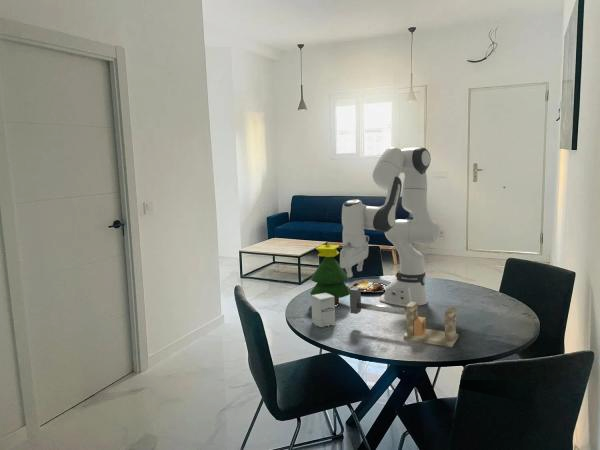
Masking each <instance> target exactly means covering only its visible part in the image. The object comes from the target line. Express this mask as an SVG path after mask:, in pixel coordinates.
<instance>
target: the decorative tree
mask: <svg viewBox="0 0 600 450" xmlns="http://www.w3.org/2000/svg"><path fill="white" fill-rule="evenodd" d="M339 247H340V244H330V243H327V244H320V245H319V246H317V247H316V248H315V250H317V252H319V253H318V254H317V255H316V257H323V259H322V261H321V262H320V264H319V265H318V267H317V268H316V269H315V271H314V272H313V274H312V276H311V277H310V281H312V282H314V283H316V284H315V285H314V286H313V288H312V289H311V291H310V295H316V294H321V293H328V294H330V295H332V296H334V300H335V305H337V304H339V305H340V301H339V300H340V298H344V297H347V296H350V289H349V288H348V287H347V285H346V284H345V283H344V282H346V281H348V280H349V279H350V277H347V272H346V271H345V269H344V268H341V267H340V263H339V261H337V260H336V258H335V257H336V256H338V254H339V255H340V252H339V251H338V250H337V249H338V248H339Z"/></svg>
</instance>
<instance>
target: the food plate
mask: <svg viewBox="0 0 600 450" xmlns="http://www.w3.org/2000/svg"><path fill="white" fill-rule="evenodd" d="M392 282H393V281H390V280H385V279H375V278H373V279H372V278H365V279H364V278H363V279H359V280H353V281H351V282H350V283H348V284H347V285H346V286H347V287H348V288H349V290H350V289H351V288H353V287H359V288H360V289H361V292H362V293H365V292H372V293H384V291H383V290H384V289H385V287H386V286H388V285H389V284H390V283H392ZM374 283H378V284H374ZM381 284H383V285H385V287H384V286H383V285H381ZM357 285H358V286H357ZM371 285H373V286H372V287H373V288H369V287H370V286H371ZM367 288H369V289H367ZM364 290H366V291H364Z"/></svg>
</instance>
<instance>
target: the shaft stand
mask: <svg viewBox="0 0 600 450" xmlns="http://www.w3.org/2000/svg"><path fill="white" fill-rule="evenodd" d="M405 308H406V309H405V313H406V314H405V316H406V319H405V320H406V321H405V322H406V323H405V324H406V327H405V328H406V332H405V333H404V334H403V340H406V339H408V341H413V342H417V343H425V344H430V345H435V346H436V345H437V346H441V347H442V346H443V347H448V348H453V346H454V345H455V343H456V342H457V340H458V339H459V333H457V307H455V306H448V307H447V308H446V310H445V311H444V330H436V329H431V328H426V331H425V332H424V334H423V335H422V336H419V335H414V320H415V319H416V318H417V317H419V315H418V314H419V313H418V302H410V303H409V304H408V305H407V306H406V307H405Z"/></svg>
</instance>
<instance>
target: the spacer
mask: <svg viewBox="0 0 600 450" xmlns="http://www.w3.org/2000/svg"><path fill="white" fill-rule="evenodd" d="M426 319H427V318H426V317H424V316H423V317H422V316H418V317H417V318H416V319H415V320H414V335H419V336H422V335H423V334H424V332H425V331H426V329H427V327H426V326H427V323H426V322H427V321H426Z"/></svg>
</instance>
